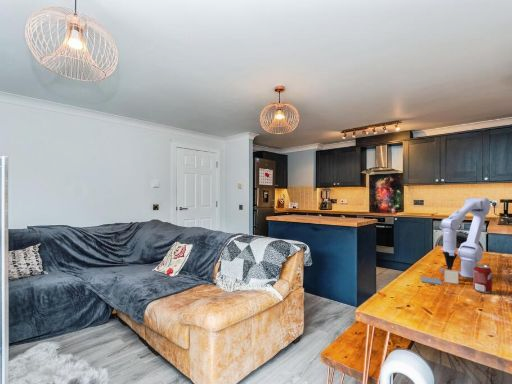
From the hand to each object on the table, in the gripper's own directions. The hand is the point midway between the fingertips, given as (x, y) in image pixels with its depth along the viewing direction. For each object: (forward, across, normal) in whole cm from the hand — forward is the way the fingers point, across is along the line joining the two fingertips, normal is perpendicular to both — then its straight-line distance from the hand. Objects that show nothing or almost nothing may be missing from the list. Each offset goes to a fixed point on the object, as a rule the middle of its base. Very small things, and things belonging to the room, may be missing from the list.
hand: (449, 266), depth 146 cm
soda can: (+7, +13, +11) cm, 19 cm away
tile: (+7, +6, 0) cm, 9 cm away
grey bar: (+3, 0, 0) cm, 4 cm away
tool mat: (+7, +8, -9) cm, 14 cm away
